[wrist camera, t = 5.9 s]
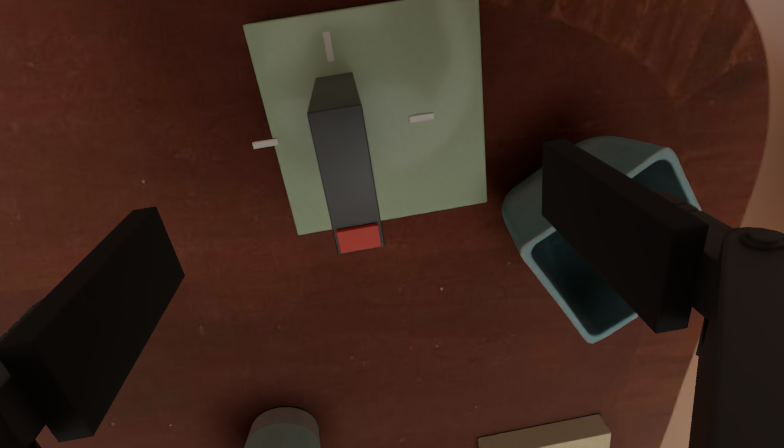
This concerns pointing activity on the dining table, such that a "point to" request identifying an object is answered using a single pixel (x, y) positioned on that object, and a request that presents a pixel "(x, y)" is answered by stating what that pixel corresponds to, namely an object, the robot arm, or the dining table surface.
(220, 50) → the dining table surface
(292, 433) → the coffee cup
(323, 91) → the dark charcoal cuboid
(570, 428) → the button block
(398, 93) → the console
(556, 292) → the flower pot
